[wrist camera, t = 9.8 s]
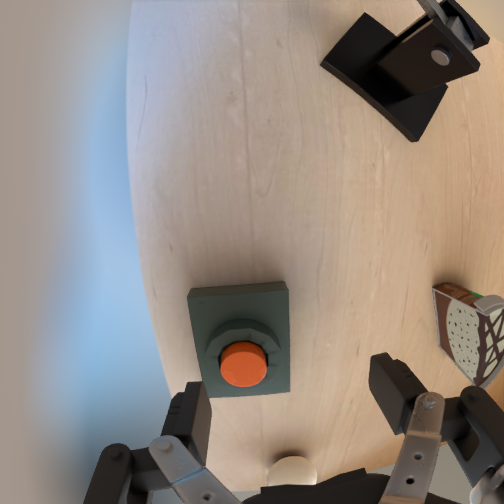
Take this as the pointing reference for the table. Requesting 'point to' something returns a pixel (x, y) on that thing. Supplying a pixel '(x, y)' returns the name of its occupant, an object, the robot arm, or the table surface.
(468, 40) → the lever
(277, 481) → the cream ball
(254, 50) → the table surface
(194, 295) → the button box
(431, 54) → the bracket
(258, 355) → the button
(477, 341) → the food container
